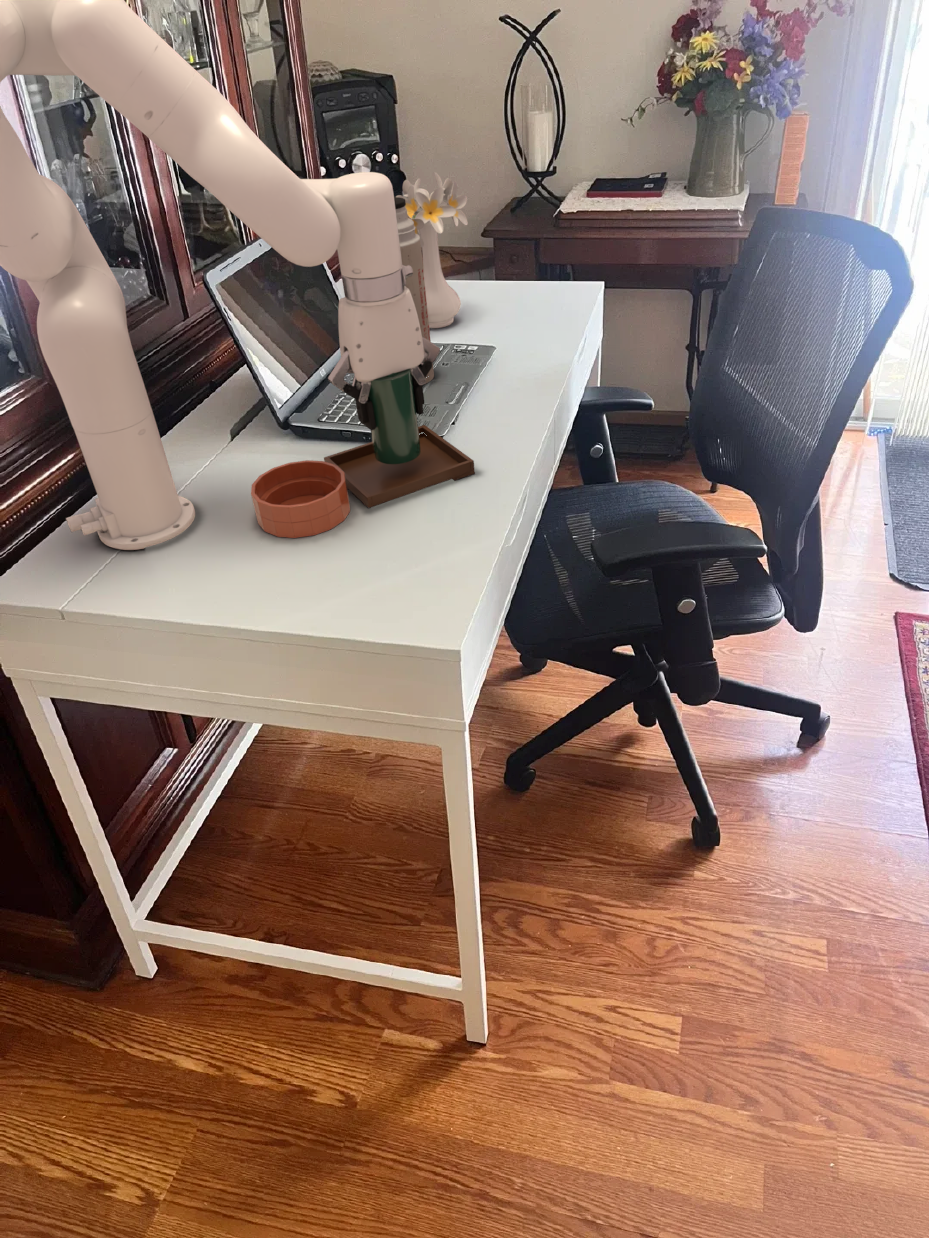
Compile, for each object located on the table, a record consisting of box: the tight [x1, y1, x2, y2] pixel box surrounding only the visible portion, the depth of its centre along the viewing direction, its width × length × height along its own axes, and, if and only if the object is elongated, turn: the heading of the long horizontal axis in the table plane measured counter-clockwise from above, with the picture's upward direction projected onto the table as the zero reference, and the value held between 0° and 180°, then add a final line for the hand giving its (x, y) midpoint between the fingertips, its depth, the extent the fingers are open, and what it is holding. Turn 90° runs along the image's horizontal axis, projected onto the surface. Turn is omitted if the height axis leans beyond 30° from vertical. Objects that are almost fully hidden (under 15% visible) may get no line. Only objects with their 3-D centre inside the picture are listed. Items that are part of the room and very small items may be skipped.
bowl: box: [250, 459, 351, 539], centre depth 122 cm, size 12×12×5 cm
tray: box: [323, 424, 476, 509], centre depth 130 cm, size 16×14×2 cm
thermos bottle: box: [394, 196, 435, 386], centre depth 148 cm, size 8×8×28 cm
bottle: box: [368, 369, 421, 464], centre depth 124 cm, size 6×6×17 cm
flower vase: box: [395, 171, 469, 329], centre depth 168 cm, size 13×18×25 cm
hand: (392, 417), depth 126 cm, fingers closed on bottle, 6 cm apart
